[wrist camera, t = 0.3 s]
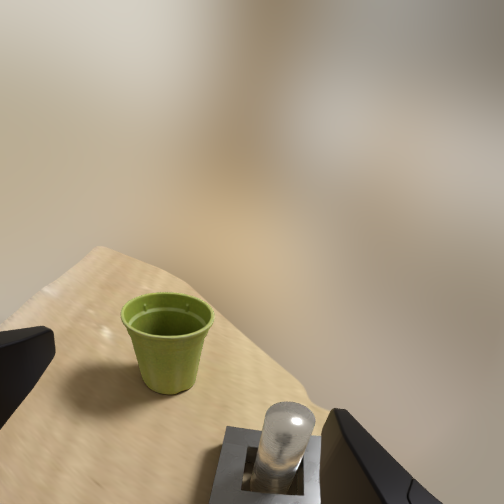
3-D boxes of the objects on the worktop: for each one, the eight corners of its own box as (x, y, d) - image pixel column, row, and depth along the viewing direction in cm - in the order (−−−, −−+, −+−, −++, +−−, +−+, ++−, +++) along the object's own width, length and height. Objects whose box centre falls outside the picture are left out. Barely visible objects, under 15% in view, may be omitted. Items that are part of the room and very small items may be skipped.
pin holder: (322, 528, 16) (332, 517, 15) (207, 519, 16) (207, 506, 16) (318, 452, 24) (325, 436, 23) (225, 442, 24) (226, 425, 24)
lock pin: (288, 501, 18) (316, 437, 16) (247, 498, 19) (263, 433, 16) (288, 472, 22) (314, 403, 19) (251, 469, 22) (266, 399, 19)
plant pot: (203, 413, 28) (206, 344, 25) (115, 395, 28) (105, 325, 25) (215, 361, 37) (220, 298, 34) (143, 348, 37) (140, 286, 34)
